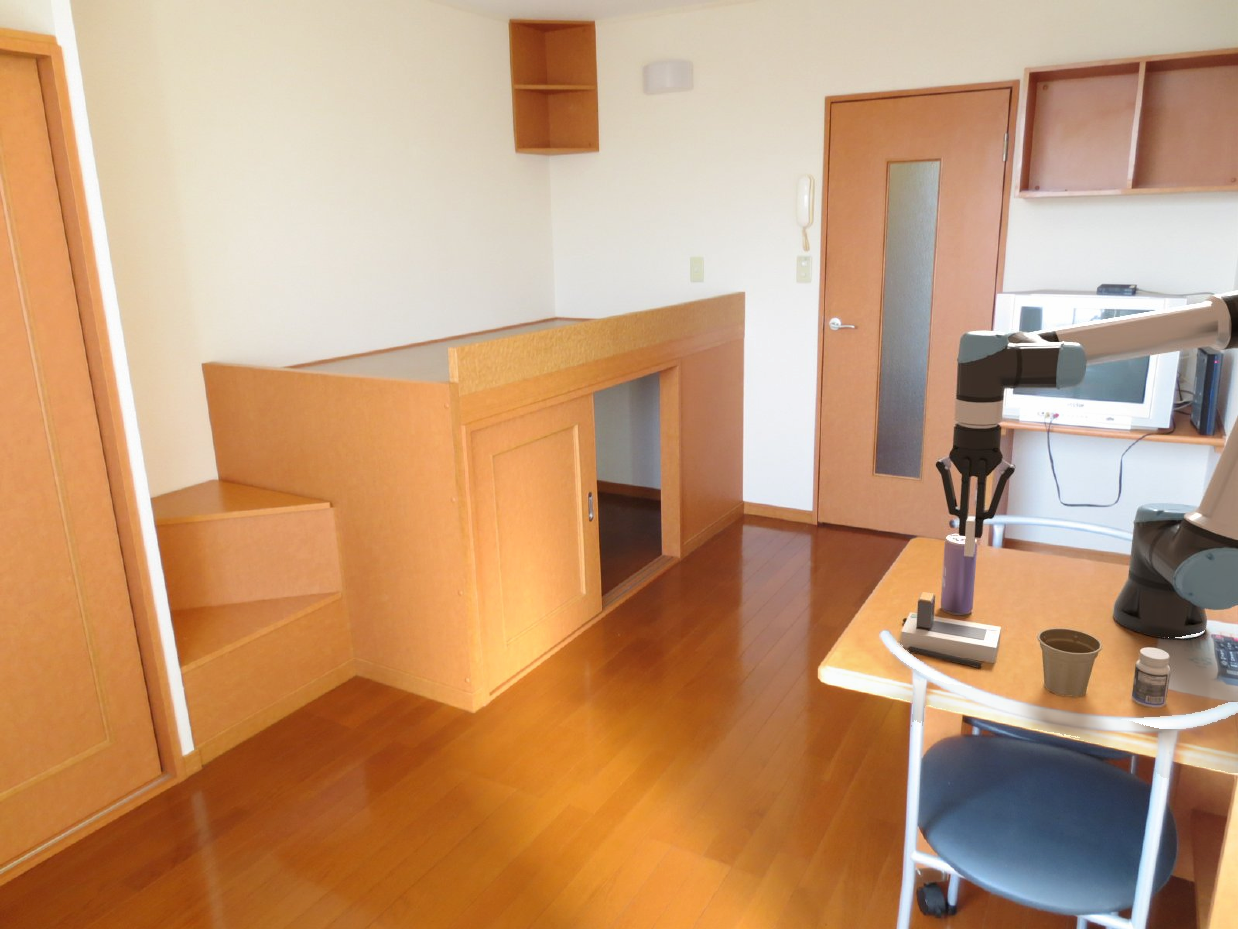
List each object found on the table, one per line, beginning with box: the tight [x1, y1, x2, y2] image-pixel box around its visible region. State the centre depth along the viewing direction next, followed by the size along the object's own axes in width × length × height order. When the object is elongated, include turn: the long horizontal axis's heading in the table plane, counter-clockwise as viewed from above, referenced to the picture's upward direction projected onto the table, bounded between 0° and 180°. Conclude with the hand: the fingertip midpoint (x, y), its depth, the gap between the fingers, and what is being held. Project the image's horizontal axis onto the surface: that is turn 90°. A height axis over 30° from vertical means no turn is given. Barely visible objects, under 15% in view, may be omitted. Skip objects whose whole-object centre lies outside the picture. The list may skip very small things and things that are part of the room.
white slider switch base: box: [900, 611, 1002, 664], centre depth 161 cm, size 16×9×3 cm, turn 62°
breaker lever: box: [916, 591, 936, 628], centre depth 162 cm, size 2×4×5 cm, turn 152°
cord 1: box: [907, 646, 983, 669], centre depth 156 cm, size 12×1×1 cm, turn 56°
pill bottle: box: [1131, 646, 1171, 709], centre depth 140 cm, size 5×5×8 cm
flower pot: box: [1036, 627, 1103, 698], centre depth 144 cm, size 9×9×9 cm
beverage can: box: [940, 533, 978, 616], centre depth 174 cm, size 6×6×15 cm
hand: (969, 553), depth 156 cm, fingers closed
